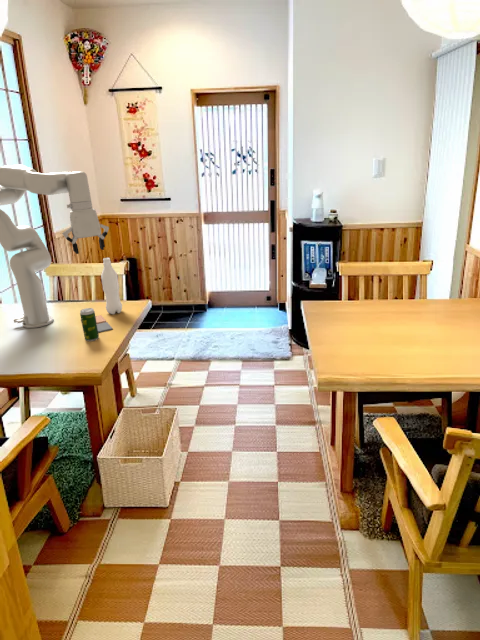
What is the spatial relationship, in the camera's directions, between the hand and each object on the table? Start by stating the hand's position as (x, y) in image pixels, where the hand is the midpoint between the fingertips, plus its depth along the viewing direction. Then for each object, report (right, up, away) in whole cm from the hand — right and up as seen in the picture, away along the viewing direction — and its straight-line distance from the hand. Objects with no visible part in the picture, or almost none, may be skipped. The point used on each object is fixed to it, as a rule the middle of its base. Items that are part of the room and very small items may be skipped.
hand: (89, 251), depth 180 cm
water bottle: (+1, -23, +32) cm, 39 cm away
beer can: (0, -34, +2) cm, 34 cm away
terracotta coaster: (-6, -27, +22) cm, 35 cm away
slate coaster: (0, -30, +13) cm, 33 cm away
